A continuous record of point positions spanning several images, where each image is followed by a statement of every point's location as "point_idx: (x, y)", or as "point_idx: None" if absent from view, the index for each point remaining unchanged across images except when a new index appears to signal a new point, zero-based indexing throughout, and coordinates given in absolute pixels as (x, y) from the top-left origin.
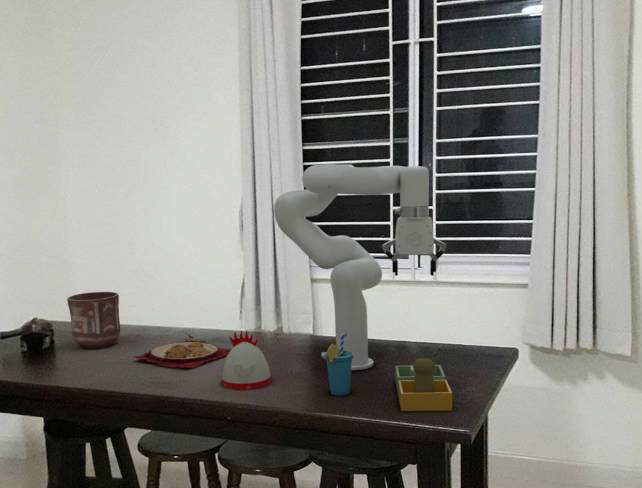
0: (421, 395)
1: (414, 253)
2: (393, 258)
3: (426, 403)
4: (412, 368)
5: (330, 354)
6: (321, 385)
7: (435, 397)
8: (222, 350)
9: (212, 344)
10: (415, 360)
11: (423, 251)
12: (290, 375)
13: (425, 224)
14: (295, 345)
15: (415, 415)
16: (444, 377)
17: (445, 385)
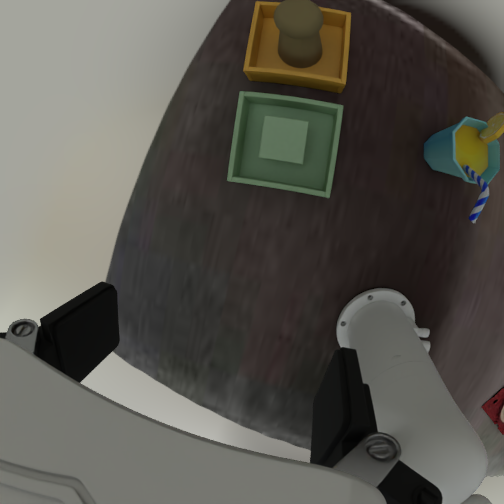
0: None
1: (126, 416)
2: (383, 457)
3: None
4: (302, 134)
5: (498, 116)
6: (459, 208)
7: None
8: (495, 407)
9: (500, 417)
10: (318, 15)
11: (21, 377)
12: (482, 283)
13: None
14: None
15: (325, 7)
16: (241, 91)
17: (252, 53)
